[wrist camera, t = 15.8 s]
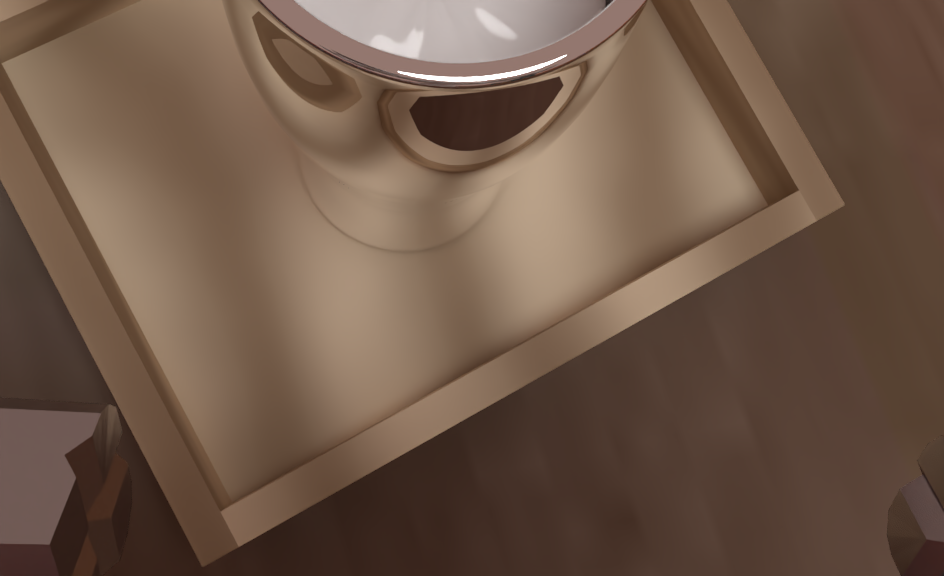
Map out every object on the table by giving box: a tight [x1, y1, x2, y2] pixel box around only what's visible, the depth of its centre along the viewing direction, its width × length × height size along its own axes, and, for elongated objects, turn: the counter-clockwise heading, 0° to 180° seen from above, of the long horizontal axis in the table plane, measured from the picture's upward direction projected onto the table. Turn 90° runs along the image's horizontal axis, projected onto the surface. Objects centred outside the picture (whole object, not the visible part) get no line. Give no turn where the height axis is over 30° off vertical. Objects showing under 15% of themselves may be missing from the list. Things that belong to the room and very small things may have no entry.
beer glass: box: [222, 0, 648, 252], centre depth 19 cm, size 7×7×15 cm
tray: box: [0, 0, 845, 567], centre depth 26 cm, size 20×16×3 cm
